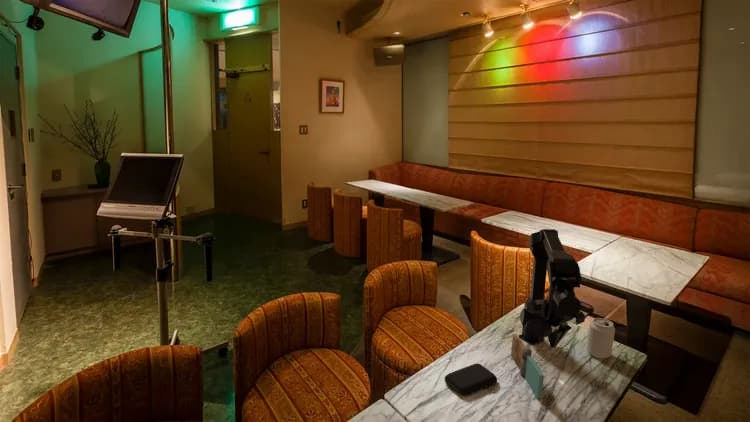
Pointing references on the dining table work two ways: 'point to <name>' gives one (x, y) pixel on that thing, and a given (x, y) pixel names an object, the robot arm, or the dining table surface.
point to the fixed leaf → (519, 352)
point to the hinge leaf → (533, 376)
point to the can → (600, 338)
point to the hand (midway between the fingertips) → (552, 347)
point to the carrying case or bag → (471, 379)
